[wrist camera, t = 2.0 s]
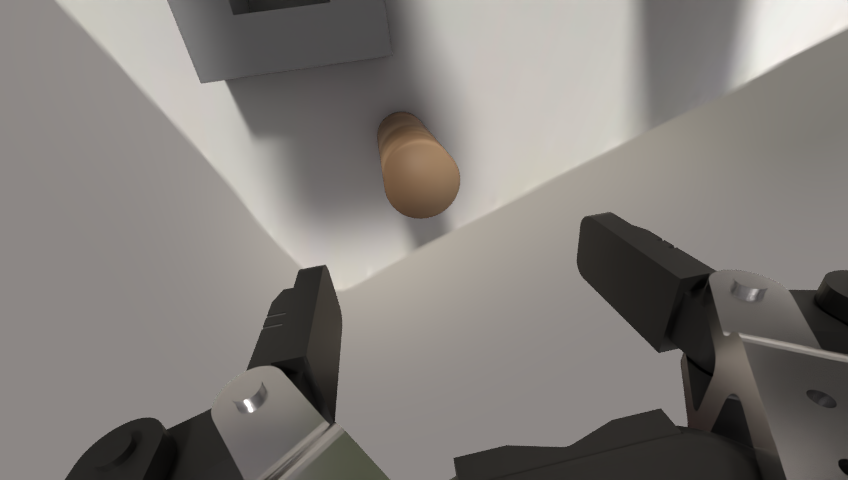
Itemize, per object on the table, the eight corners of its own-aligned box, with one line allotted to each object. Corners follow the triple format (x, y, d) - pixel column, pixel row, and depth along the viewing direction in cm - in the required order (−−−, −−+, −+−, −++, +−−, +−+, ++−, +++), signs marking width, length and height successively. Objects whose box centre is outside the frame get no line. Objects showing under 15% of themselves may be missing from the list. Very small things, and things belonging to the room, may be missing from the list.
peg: (422, 108, 27) (456, 138, 17) (428, 157, 29) (462, 211, 19) (372, 116, 27) (377, 151, 17) (382, 164, 29) (391, 224, 19)
